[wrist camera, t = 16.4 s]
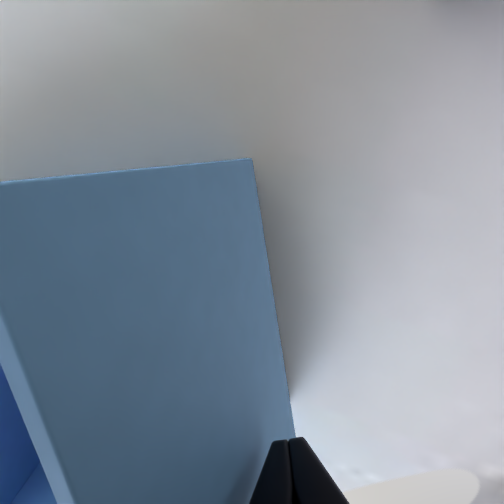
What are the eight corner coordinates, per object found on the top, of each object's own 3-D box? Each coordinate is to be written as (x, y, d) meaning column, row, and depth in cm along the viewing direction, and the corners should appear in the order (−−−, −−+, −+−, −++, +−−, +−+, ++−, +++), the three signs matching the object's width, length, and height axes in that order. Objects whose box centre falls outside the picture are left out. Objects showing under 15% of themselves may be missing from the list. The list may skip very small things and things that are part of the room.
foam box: (249, 161, 17) (247, 157, 10) (288, 404, 21) (305, 520, 14) (-25, 208, 17) (-201, 233, 11) (60, 434, 21) (-30, 560, 14)
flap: (239, 159, 9) (252, 157, 9) (302, 535, 13) (311, 538, 13) (-73, 191, 3) (-48, 186, 3) (224, 917, 7) (242, 933, 7)
